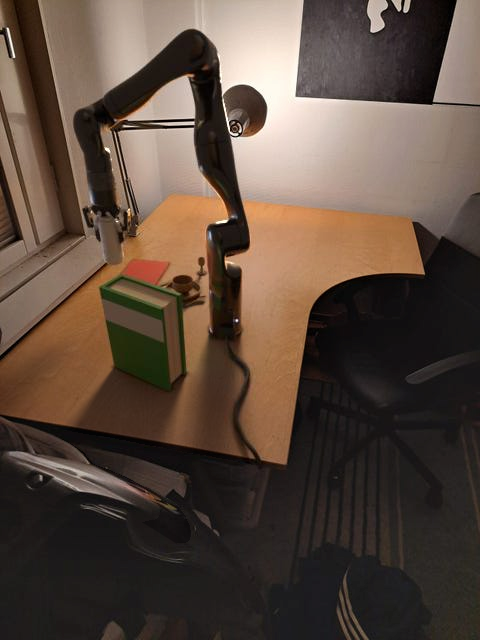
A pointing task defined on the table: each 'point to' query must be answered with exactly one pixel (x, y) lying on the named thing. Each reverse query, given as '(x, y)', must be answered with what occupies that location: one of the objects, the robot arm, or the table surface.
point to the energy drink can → (110, 241)
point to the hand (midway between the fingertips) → (111, 241)
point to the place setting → (187, 284)
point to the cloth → (146, 270)
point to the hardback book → (145, 329)
